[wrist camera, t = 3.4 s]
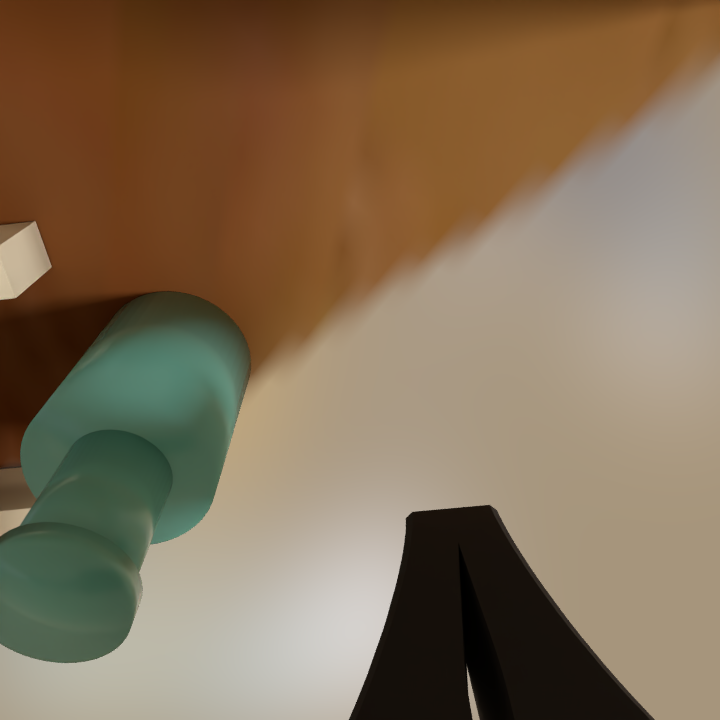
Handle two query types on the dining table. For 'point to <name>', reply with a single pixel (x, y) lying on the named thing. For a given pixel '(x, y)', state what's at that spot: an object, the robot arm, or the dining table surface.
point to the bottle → (119, 472)
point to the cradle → (5, 281)
